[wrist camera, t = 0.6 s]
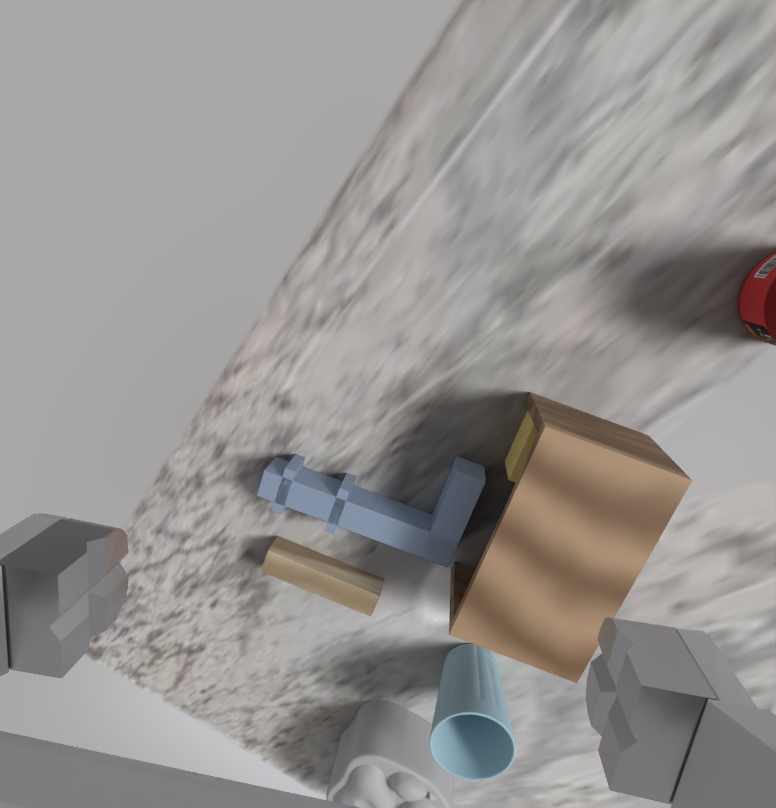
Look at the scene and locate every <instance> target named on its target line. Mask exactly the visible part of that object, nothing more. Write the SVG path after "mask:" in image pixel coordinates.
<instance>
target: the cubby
mask: <svg viewBox="0 0 776 808" xmlns="http://www.w3.org/2000/svg"><path fill="white" fill-rule="evenodd" d="M526 405H527V407H528V410H529V412H530V415H531V417H532V420H533V422H534V425H535V427H536V429H537V432H538V435H537V438H536V440H535V442H534V444H533V446H532V449H531V451H530V453H529V455H528V457H527V459H526V462H525V464H524V466H523V468H522V470H521V472H520V475H519V477H518V479H517V481H516V483H515V485H514V488H513V490H512V492H511V494H510V496H509V499H508V501H507V503H506V505H505V507H504V509H503V512H502V514H501V516H500V518H499V520H498V522H497V525H496V527H495V529H494V531H493V533H492V535H491V538H490V540H489V542H488V544H487V546H486V549H485V551H484V553H483V555H482V557H481V559H480V562H479V564H478V566H477V568H476V569H473V568H471V567H468V566H465V565H463V564H460V563H457V562H454V564H453V566H452V568H451V589H450V623H449V635H451V636H454V637H457V638H459V639H462V640H465V641H467V642H470V643H473V644H475V645H478V646H481V647H483V648H486V649H488V650H491V651H494V652H496V653H499V654H502V655H504V656H507V657H510V658H512V659H515V660H518V661H520V662H523V663H525V664H528V665H531V666H533V667H536V668H539V669H541V670H544V671H547V672H549V673H552V674H555V675H557V676H560V677H562V678H565V679H568V680H570V681H573V682H576V683H577V682H578V680H579V679H580V677H581V675H582V673H583V672H584V670H585V668H586V666H587V665H588V663H589V661H590V659H591V658H592V656H593V654H594V652H595V650H596V649H597V647H598V645H599V642H598V639H597V638H598V635H599V631H600V628H601V625H602V623H603V621H604V619H605V618H606V617H608V618H614V617H615V615H616V614H617V612H618V610H619V608H620V607H621V605H622V603H623V601H624V599H625V598H626V596H627V594H628V592H629V591H630V589H631V587H632V585H633V584H634V582H635V580H636V578H637V577H638V575H639V573H640V571H641V570H642V568H643V566H644V564H645V563H646V561H647V559H648V557H649V556H650V554H651V552H652V550H653V548H654V547H655V545H656V543H657V541H658V540H659V538H660V536H661V534H662V533H663V531H664V529H665V527H666V526H667V524H668V522H669V520H670V519H671V517H672V515H673V513H674V512H675V510H676V508H677V506H678V505H679V503H680V501H681V499H682V498H683V496H684V494H685V492H686V490H687V489H688V487H689V485H690V483H691V482H692V480H691V479H690V478H689V477H688V476H687V475H686V474H685V473H684V472H683V470H681V468H680V467H679V466H678V465H677V464H676V463H675V462H674V461H673V460H672V459H671V458H670V457H669V456H668V455H667V454H666V453H665V452H664V451H663V450H662V449H661V448H660V447H659V446H658V445H657V444H656V443H655V442H654V441H653V440H652V438H651V437H650V436H648V435H645V434H642V433H640V432H637V431H634V430H631V429H629V428H626V427H623V426H620V425H618V424H615V423H612V422H610V421H607V420H604V419H601V418H599V417H596V416H593V415H591V414H588V413H585V412H582V411H580V410H577V409H574V408H572V407H569V406H566V405H563V404H561V403H558V402H555V401H553V400H550V399H547V398H544V397H542V396H539V395H536V394H534V393H531V392H530V393H529V395H528V397H527V399H526Z"/></svg>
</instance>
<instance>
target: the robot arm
mask: <svg viewBox="0 0 776 808" xmlns="http://www.w3.org/2000/svg"><path fill="white" fill-rule="evenodd" d="M127 553H128V542H127V535H126V533H125V532H124V531H123V530H122V529H120V528H115V527H110V526H105V525H100V524H95V523H90V522H85V521H80V520H75V519H67V518H66V517H61V516H55V515H48V514H33V515H31V516H29V517H28V518H26V519H24V520H23V521H21V522H20V523H18V524H16V525H15V526H13V527H11V528H10V529H8V530H6V531H5V532H3V533H2V534H0V676H2V675H4V674H6V673H8V672H9V669H10V670H16V671H22V672H28V673H34V674H39V675H45V676H52V677H57V678H62V677H63V676H64V675H65V674H66V673H67V672H68V671H69V670H70V669H71V668H72V667H73V666H74V665H75V664H76V663H77V661H78V660H79V659H80V658H81V657H82V656H83V655H84V654H85V653H86V652H87V651H88V650H89V638H90V637H92V636H95V635H97V634H100V633H102V632H104V631H106V630H107V629H108V628H109V627H110V626H111V625H112V624H113V622H114V621H115V620H116V619H117V617H118V615H119V613H120V611H121V609H122V607H123V605H124V603H125V599H126V594H127V589H128V575H127V573H126V572H125V570H124V569H123V567H122V566H121V564H120V563H119V562H120V561H121V560H122V559H123V558H124V557H125V555H126V554H127ZM597 639H598V642H599V645H600V648H601V651H602V654H601V655H600V656H598V657H597V658H596V659H594V660H593V661H592V662H591V664H590V669H589V673H588V677H587V687H586V703H587V711H588V715H589V719H590V723H591V726H592V727H593V728H594V729H595V730H596V731H597V732H598V733H599V734H600V735H601V736H602V738H601V742H600V745H599V749H598V751H599V755H600V758H601V762H602V765H603V768H604V772H605V775H606V779H607V782H608V786H609V789H610V790H611V791H616V792H620V793H624V794H629V795H633V796H637V797H641V798H646V799H650V800H654V801H659V802H663V803H667V804H671V808H776V715H775V714H773V713H772V712H771V711H769V710H764V709H759V708H757V706H756V705H755V703H754V702H753V700H752V699H751V697H750V696H749V694H748V693H747V691H746V690H745V688H744V687H743V685H742V684H741V682H740V681H739V679H738V678H737V676H736V675H735V673H734V672H733V670H732V669H731V667H730V666H729V664H728V663H727V661H726V660H725V658H724V657H723V655H722V654H721V652H720V651H719V649H718V648H717V646H716V645H715V643H714V642H713V640H712V639H711V637H710V636H709V635H707V634H706V633H704V632H703V631H696V630H689V629H682V628H675V627H666V626H660V625H653V624H647V623H640V622H634V621H628V620H621V619H615V618H608V617H606V618H605V619H604V621H603V623H602V625H601V628H600V631H599V635H598V638H597ZM0 808H360V807H355V806H350V805H346V804H341V803H336V802H331V801H327V800H322V799H317V798H312V797H308V796H303V795H298V794H294V793H289V792H284V791H279V790H275V789H270V788H265V787H260V786H256V785H250V784H246V783H242V782H237V781H232V780H227V779H223V778H218V777H213V776H209V775H204V774H199V773H195V772H190V771H185V770H180V769H176V768H171V767H166V766H162V765H157V764H153V763H148V762H143V761H138V760H134V759H129V758H124V757H120V756H115V755H110V754H106V753H101V752H96V751H91V750H87V749H82V748H78V747H73V746H68V745H64V744H59V743H54V742H50V741H45V740H40V739H35V738H31V737H26V736H22V735H17V734H12V733H7V732H3V731H0Z"/></svg>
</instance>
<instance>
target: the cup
mask: <svg viewBox="0 0 776 808" xmlns="http://www.w3.org/2000/svg"><path fill="white" fill-rule="evenodd" d="M429 747H430V752H431V755H432V757H433V759H434V760H435V762H436V763H437V764H438V765H439V766H440V767H441V768H442V769H443V770H444V771H446V772H447V773H449V774H451V775H453V776H455V777H458V778H461V779H464V780H471V781H482V780H488V779H492V778H495V777H497V776H499V775H501V774H502V773H504V772H505V771H506V770H507V769H508V768H509V767H510V766H511V764H512V762H513V760H514V758H515V754H516V745H515V740H514V736H513V732H512V728H511V724H510V720H509V715H508V711H507V707H506V703H505V698H504V694H503V690H502V686H501V681H500V677H499V673H498V669H497V665H496V661H495V659H494V658H493V656H492V654H491V653H490V652H489V651H488V650H486V649H485V648H483V647H481V646H478V645H475V644H462V645H459V646H456V647H455V648H453V649H452V650H450V652H449V653H448V654H447V656H446V658H445V661H444V666H443V671H442V676H441V682H440V687H439V692H438V697H437V703H436V708H435V713H434V718H433V723H432V728H431V733H430V738H429Z"/></svg>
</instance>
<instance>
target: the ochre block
mask: <svg viewBox="0 0 776 808" xmlns="http://www.w3.org/2000/svg"><path fill="white" fill-rule="evenodd" d="M537 435H538V432H537V429H536V427H535V425H534V422H533V420H532V417H531V415H530V412H529V410H527V413H526V415H525V417H524V419H523V422H522V424H521V426H520V428H519V430H518V433H517V435H516V437H515V439H514V442H513V444H512V446H511V448H510V451H509V453H508V455H507V457H506V459H505V465H506V470H507V475H508V480H510V481H513V482H515V483H516V481H517V479H518V477H519V475H520V472H521V470H522V468H523V466H524V464H525V462H526V459H527V457H528V455H529V453H530V451H531V449H532V446H533V444H534V442H535V440H536V438H537Z"/></svg>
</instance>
